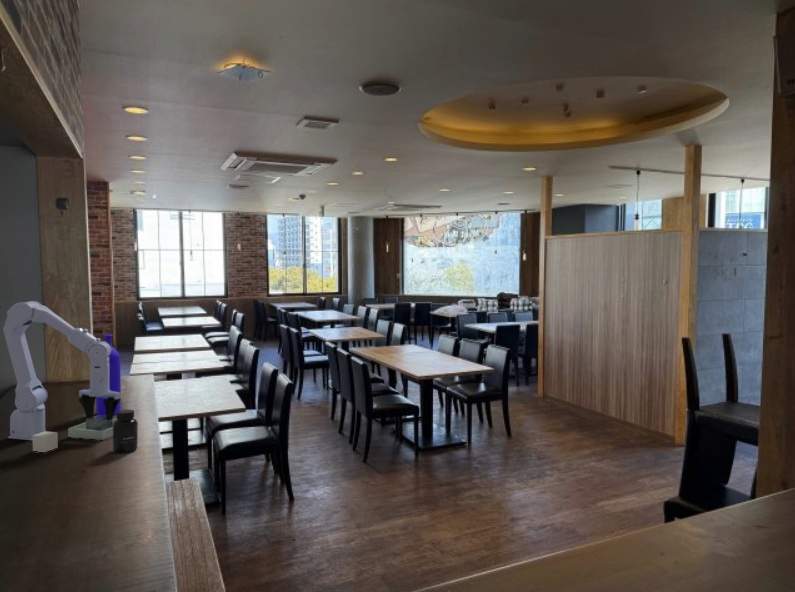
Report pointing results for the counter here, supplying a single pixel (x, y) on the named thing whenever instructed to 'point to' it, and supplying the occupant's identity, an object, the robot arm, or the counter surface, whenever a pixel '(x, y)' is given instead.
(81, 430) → the tray
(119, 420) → the supplement bottle
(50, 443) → the carton
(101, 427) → the grey square block
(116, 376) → the bottle
